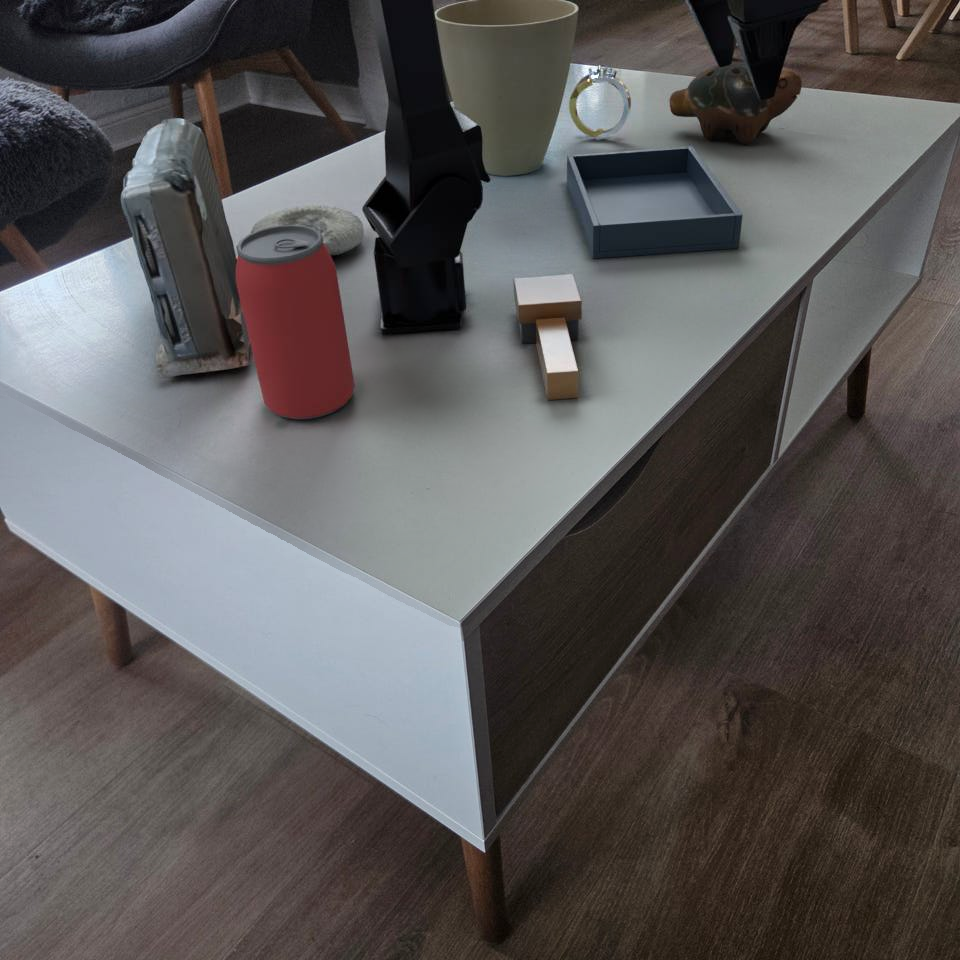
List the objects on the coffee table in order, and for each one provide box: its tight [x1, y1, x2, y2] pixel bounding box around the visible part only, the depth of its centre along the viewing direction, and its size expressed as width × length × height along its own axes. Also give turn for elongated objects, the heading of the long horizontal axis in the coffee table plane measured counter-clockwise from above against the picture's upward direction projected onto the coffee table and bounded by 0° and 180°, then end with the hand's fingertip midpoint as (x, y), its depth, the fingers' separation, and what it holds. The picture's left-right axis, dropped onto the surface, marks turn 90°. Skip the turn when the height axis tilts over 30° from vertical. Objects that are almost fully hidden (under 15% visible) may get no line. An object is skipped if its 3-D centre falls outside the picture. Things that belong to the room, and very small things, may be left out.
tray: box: [566, 145, 744, 260], centre depth 90 cm, size 13×19×3 cm
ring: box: [568, 64, 632, 141], centre depth 108 cm, size 7×3×8 cm, turn 69°
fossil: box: [249, 204, 365, 256], centre depth 87 cm, size 11×4×10 cm
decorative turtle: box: [669, 62, 803, 146], centre depth 106 cm, size 10×15×8 cm, turn 62°
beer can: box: [235, 225, 356, 420], centre depth 63 cm, size 7×7×12 cm
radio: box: [120, 117, 252, 379], centre depth 74 cm, size 23×9×15 cm, turn 5°
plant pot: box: [434, 0, 580, 177], centre depth 100 cm, size 15×15×16 cm
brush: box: [512, 273, 583, 401], centre depth 69 cm, size 13×5×3 cm, turn 3°
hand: (744, 81), depth 75 cm, fingers open, 9 cm apart
